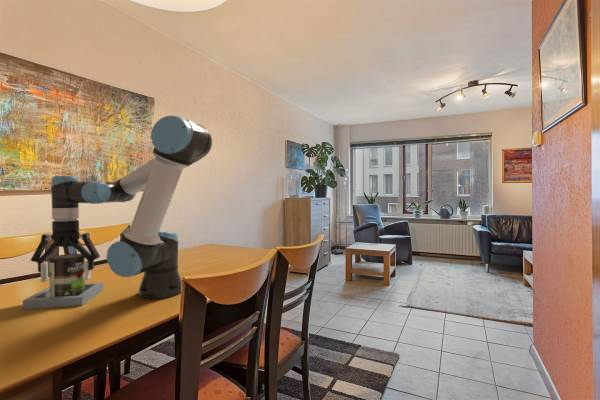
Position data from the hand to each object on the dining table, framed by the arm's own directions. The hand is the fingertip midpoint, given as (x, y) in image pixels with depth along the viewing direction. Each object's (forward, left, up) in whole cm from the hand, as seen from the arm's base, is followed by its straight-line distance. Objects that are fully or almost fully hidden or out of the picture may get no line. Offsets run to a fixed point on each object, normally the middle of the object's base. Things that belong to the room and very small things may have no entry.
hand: (66, 280), depth 110 cm
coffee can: (0, 0, -6) cm, 6 cm away
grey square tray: (0, 0, -7) cm, 7 cm away
